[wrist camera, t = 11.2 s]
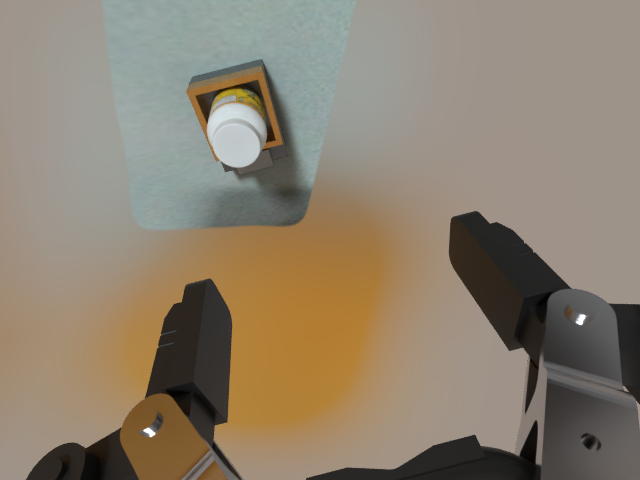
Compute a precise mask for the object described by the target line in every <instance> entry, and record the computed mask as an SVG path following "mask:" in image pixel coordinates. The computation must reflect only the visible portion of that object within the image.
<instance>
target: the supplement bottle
mask: <svg viewBox="0 0 640 480" xmlns="http://www.w3.org/2000/svg"><path fill="white" fill-rule="evenodd" d="M207 136H208V139H209V142H210V144H211V146H212V147H213V150H214V152H215V154H216V156H217V157H218V159H219V160H220V161H221V162H223V163H224V164H226V165H228V166H231V167H235V168H241V167H246V166H248V165H250V164H252V163H253V162H254V161H255V160H256V159H257V158H258V156H259V153H260V152H261V151H262V149H263V148H264V146H265V143H266V140H267V128H266V121H265V112H264V106H263V103H262V101H261V99H260V98H259V96H258V95H257V94H256V93H255V92H254V91H253V90H251V89H249V88H247V87H245V86H243V85H235V86H231V87H227V88H223V89H221V90H220V91H219V92H218V93H217V94H216V96H215V98H214V100H213V103H212V107H211V111H210V116H209V119H208V124H207Z"/></svg>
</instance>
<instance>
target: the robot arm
mask: <svg viewBox="0 0 640 480" xmlns="http://www.w3.org/2000/svg"><path fill="white" fill-rule="evenodd" d="M449 242H450V243H449V257H450V261H451V264H452V266H453V268H454V270H455V271H456V273H457V274H458V276H459V277H460V278H461V280H462V282H463V283H464V285H465V286H466V288H467V289H468V290H469V292H470V294H471V295H472V296H473V298H474V299H475V301H476V302H477V304H478V305H479V307H480V308H481V310H482V311H483V313H484V314H485V316H486V317H487V319H488V320H489V322H490V323H491V324H492V326H493V327H494V329H495V330H496V332H497V333H498V335H499V336H500V338H501V339H502V341H503V342H504V344H505V345H506V347H507V348H508V350H509V351H511V350H515V349H519V348H524V349H525V351H526V352H527V353H528V354H529V357H528V361H527V369H526V379H525V388H524V398H523V407H522V416H521V423H520V428H519V432H518V437H517V442H516V448H515V454H513V453H511V452H507V451H504V450H501V449H497V448H491V447H485V446H480V444H479V442H478V440H477V438H476V436H475V435H472V436H468V437H464V438H461V439H457V440H453V441H449V442H445V443H441V444H438V445H434V446H432V447H431V448H429V449H427V450H426V451H424V452H422V453H421V454H419V455H417V456H416V457H415V458H413V459H411V460H409V461H408V462H406V463H405V464H403V465H401V466H400V467H398V468H396V469H392V470H386V469H366V468H344V469H340V470H336V471H332V472H329V473H325V474H321V475H317V476H313V477H309V478H306V480H640V428H639V419H638V410H637V405H636V401H637V402H638V403H639V404H640V305H638V304H637V305H636V304H608V303H607V302H606V301H604V300H603V299H602V298H600V297H598V296H597V295H595V294H592V293H589V292H587V291H583V290H578V289H572V288H570V287H569V286H568V285H567V284H566V283H565V282H564V281H563V280H562V279H561V278H560V277H559V276H558V275H557V274H556V273H555V272H554V271H553V270H552V269H551V268H550V267H549V266H548V265H547V264H546V263H545V262H544V261H543V260H542V259H541V258H540V257H539V256H538V255H537V254H536V253H533V250H532V249H531V248H530V247H529V246H528V245H527V244H524V241H523V240H522V239H521V238H520V237H519V236H518V235H517V234H516V233H515V232H514V231H513V230H511V229H509V228H507V227H505V226H503V225H501V224H499V223H497V222H496V223H492V224H490V223H489V222H488V221H487V220H486V219H485V218H484V217H483V216H482V215H481V214H480V213H479V212H477V211H474V212H470V213H466V214H462V215H458V216H454V217H452V219H451V223H450V241H449ZM161 335H162V336H160V340H159V344H158V346H159V348H158V349H157V352H156V356H155V360H154V364H153V368H152V372H151V377H150V381H149V385H148V389H147V393H146V396H145V399H143V400H142V401H140V402H139V403H138V404H137V405H136V406H135V407H134V408H133V409H132V410H131V411H130V412H129V414H128V415H127V417H126V418H125V420H124V422H123V425H122V427H121V428H120V429H118V430H117V431H115V432H113V433H112V434H110V435H108V436H106V437H105V438H103V439H101V440H100V441H98V442H96V443H95V444H93V445H91V446H89V447H87V448H84V447H83V446H81V445H79V444H77V443H67V444H63V445H60V446H58V447H56V448H55V449H53V450H52V451H50V452H49V453H48V454H47V455H45V456H44V457H43V458H42V459H41V460H40V461H39V462H38V463H37V464H36V465H35V467H34V468H33V469H32V471H31V472H30V474H29V475H28V477H27V479H26V480H244V479H243V478H242V476H241V475H240V474H239V472H238V471H237V470H236V468H235V467H234V466H233V464H232V463H231V462H230V460H228V458H227V457H226V456H225V454H224V453H223V451H222V450H221V449H220V447H219V446H218V445H217V443H216V442H215V441H214V439H213V438H214V427H215V425H218V424H222V423H226V422H227V418H228V398H229V377H230V358H231V338H232V336H231V335H232V319H231V314H230V311H229V309H228V307H227V305H226V303H225V301H224V300H223V298H222V296H221V294H220V293H219V291H218V289H217V287H216V285H215V284H214V282H213V281H212V280H211V279H206V280H202V281H198V282H194V283H190V284H187V285H186V286H185V290H184V295H183V299H182V302H181V303H176V304H174V305H173V307H172V308H171V309H170V311H169V313H168V314H167V316H166V317H165V319H164V323H163V327H162V331H161ZM623 386H625V387H626V388H627V390H628V391H629V392H630V393H629V392H626V391H624V389H623ZM635 399H636V401H635Z"/></svg>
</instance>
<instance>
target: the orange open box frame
mask: <svg viewBox="0 0 640 480" xmlns="http://www.w3.org/2000/svg"><path fill="white" fill-rule="evenodd" d="M235 85H243V86H245V87H247V88H249V89H251V90H253V91H254V92H255V93H256V94H257V95H258V96H259V98H260V99H261V101H262V103H263V106H264V112H265V121H266V128H267V140H266V143H265V146H264V148H263V149H262V151H261V152H260V153H259V156H258V158H257V159H256V160H255V161H254V162H253V163H252V164H250V165H248V166H246V167H241V168H235V167H231V166H228V165H226V164H224V163H223V162H221V163H222V165H223V168H224V170H225V172H228V171H232V170H236V169H237V170H238V173H239V175H240V174H244V173H248V172H252V171H256V170H259V169H263V168H267V167H271V166H273V160H275V159H278V158H282V157H286V156H288V154H287V150H286V145H285V141H284V138H283V134H282V130H281V127H280V123H279V120H278V116H277V112H276V109H275V105H274V101H273V98H272V94H271V91H270V87H269V83H268V80H267V76H266V72H265V69H264V65H263V62H262V59H261V60H257V61H253V62H249V63H245V64H241V65H237V66H233V67H229V68H225V69H222V70H218V71H214V72H210V73H206V74H202V75H198V76H194V77H192V79H191V81H190V83H189V86H188V88H187V90H186V91H187V94H188V96H189V98H190V101H191V103H192V106H193V108H194V110H195V113H196V115H197V117H198V120H199V122H200V124H201V127H202V129H203V131H204V134H205V136H206V138H207V141H208V143H209V146H210V148H211V150H212V153H213V155H214V157H215V160H216V161H219V159H218V157H217V156H216V154H215V152H214V150H213V147H212V146H211V144H210V142H209V139H208V136H207V124H208V119H209V116H210V111H211V107H212V103H213V100H214V98H215V96H216V94H217V93H218V92H219V91H220V90H221V89H223V88H227V87H231V86H235Z"/></svg>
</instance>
